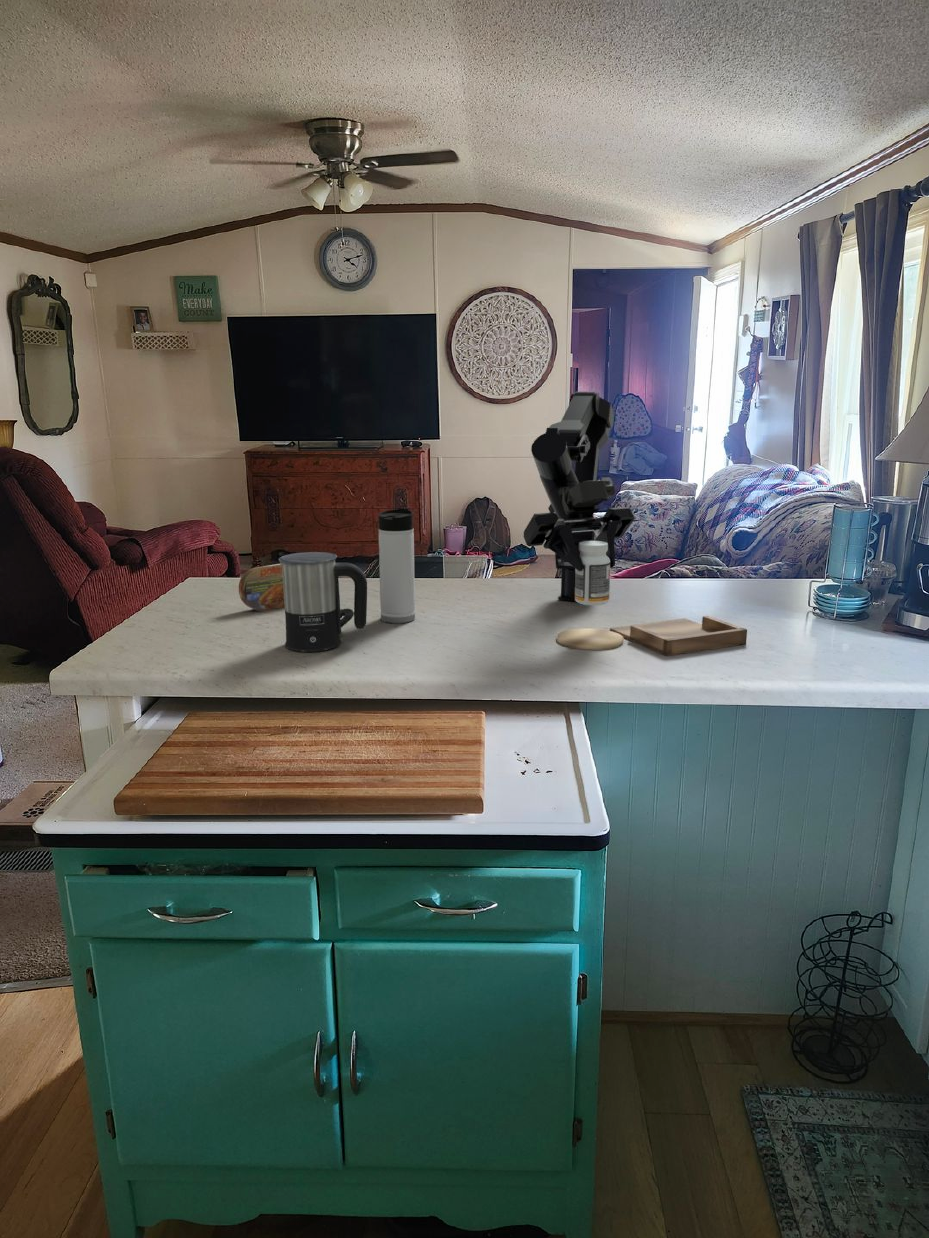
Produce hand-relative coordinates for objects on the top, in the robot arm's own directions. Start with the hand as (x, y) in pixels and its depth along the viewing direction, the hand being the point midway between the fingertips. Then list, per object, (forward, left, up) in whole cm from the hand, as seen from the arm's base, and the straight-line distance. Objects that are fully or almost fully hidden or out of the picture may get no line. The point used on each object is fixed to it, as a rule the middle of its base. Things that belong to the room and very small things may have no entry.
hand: (597, 568), depth 142 cm
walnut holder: (+11, +9, -13) cm, 19 cm away
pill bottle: (-1, +1, -6) cm, 6 cm away
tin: (-63, -3, -13) cm, 64 cm away
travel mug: (-37, -1, -13) cm, 39 cm away
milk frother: (-42, -18, -13) cm, 48 cm away
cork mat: (-1, +1, -13) cm, 13 cm away
